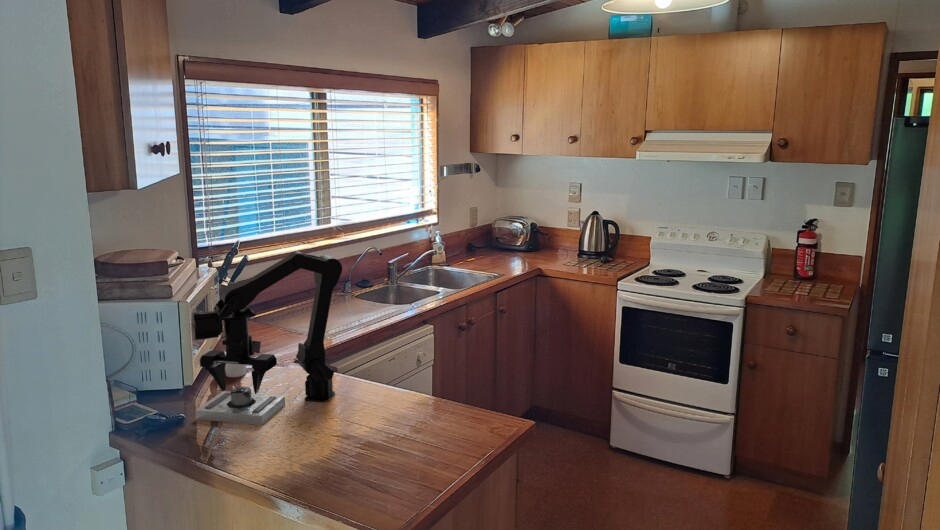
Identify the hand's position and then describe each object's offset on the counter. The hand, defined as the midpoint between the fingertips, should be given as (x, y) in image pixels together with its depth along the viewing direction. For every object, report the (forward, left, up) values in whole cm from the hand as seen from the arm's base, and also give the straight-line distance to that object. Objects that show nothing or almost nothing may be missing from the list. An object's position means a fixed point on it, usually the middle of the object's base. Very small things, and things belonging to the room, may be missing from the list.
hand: (240, 392), depth 175 cm
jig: (0, 0, -6) cm, 6 cm away
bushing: (0, 0, -6) cm, 6 cm away
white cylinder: (+16, -26, -6) cm, 31 cm away
